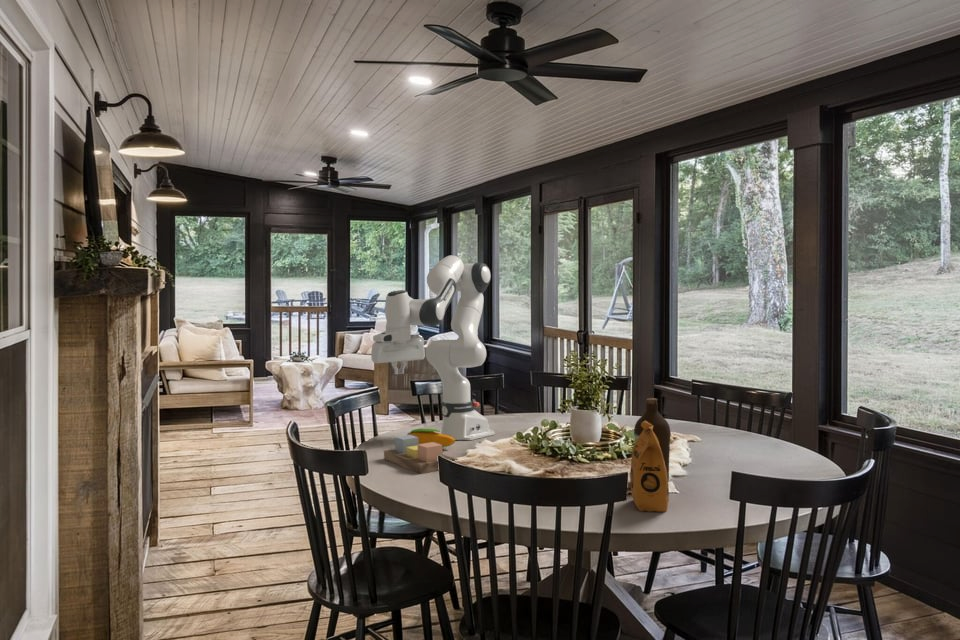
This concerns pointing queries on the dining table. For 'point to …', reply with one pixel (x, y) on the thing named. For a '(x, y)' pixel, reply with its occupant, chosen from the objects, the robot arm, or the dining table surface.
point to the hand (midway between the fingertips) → (399, 374)
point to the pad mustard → (412, 451)
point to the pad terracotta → (429, 451)
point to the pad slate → (405, 442)
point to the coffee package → (649, 473)
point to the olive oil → (656, 428)
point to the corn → (432, 437)
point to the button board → (412, 461)
